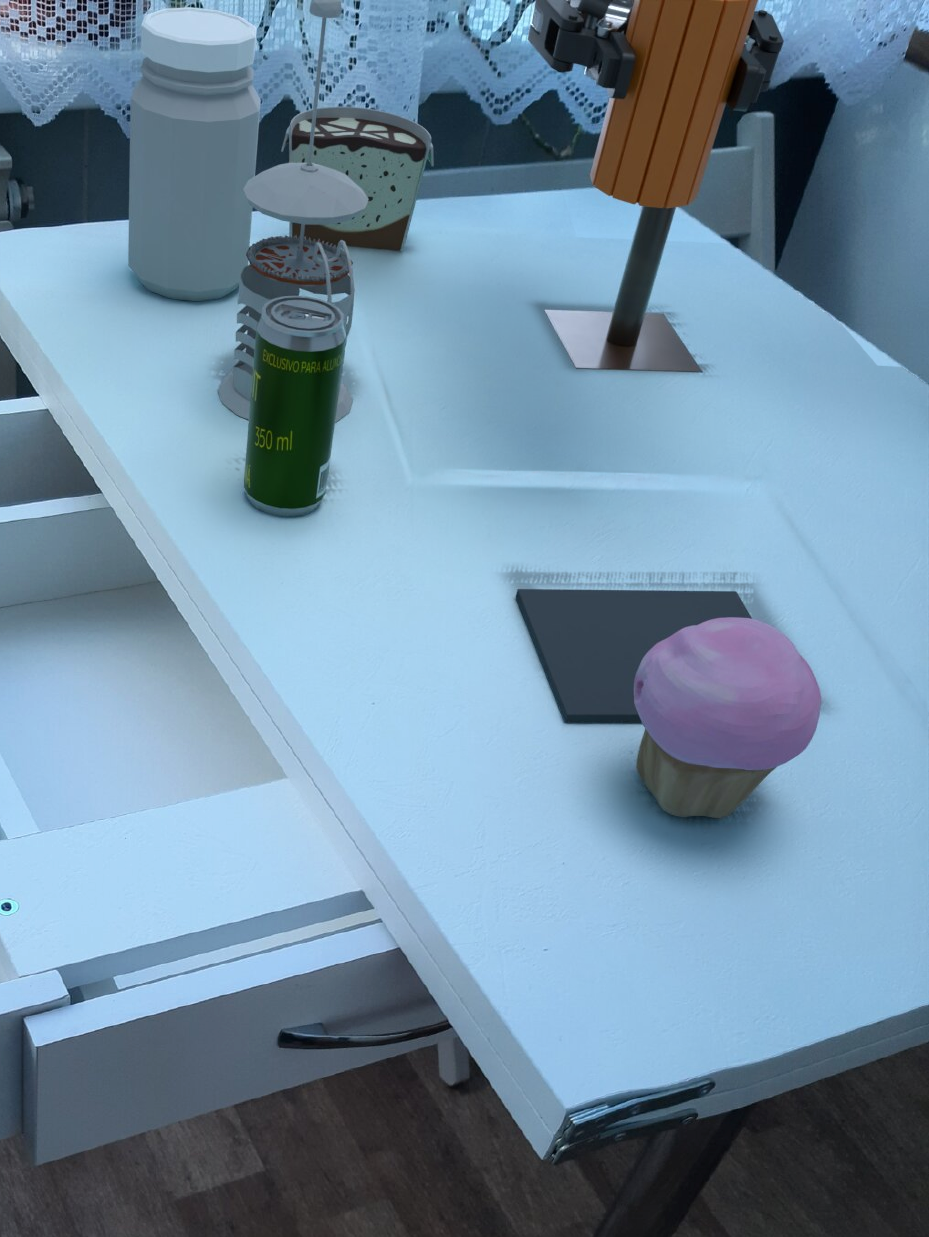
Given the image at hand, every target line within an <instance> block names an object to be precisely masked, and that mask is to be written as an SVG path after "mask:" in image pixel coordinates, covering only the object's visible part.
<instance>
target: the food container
mask: <svg viewBox="0 0 929 1237" xmlns="http://www.w3.org/2000/svg"><path fill="white" fill-rule="evenodd" d="M312 115H313V108H312V109H308V110H304V111H302V112H300V113H298V114H296V115H295V116H294V117H293V118H291V120H290V124H289V126H288V127H287V129H286V132H285V134H284V139H283V142H282V146H281V150H280V152H282V153H283V152H284V149H285V147H287V145H288V163H308V154H309V145H310V135H311V125H312ZM434 159H435V158H434V145H433V143H432V136H431V134H430V133H429V131H428V130H427V129H426V128H425V127H424V126H423V125H421V124H419V123H417V122H415V121H413V120H411V119H409V118H407V117H404V116H401V115H398V114H394V113H391V112H388V111H383V110H379V109H372V108H364V107H356V106H355V107H354V106H326V107H317V114H316V124H315V133H314V143H313V153H312V162H311V163H315V164H318V165H322V166H325V167H328V168H331V169H334V170H337V171H339V172H341V173H344V174H346V175H347V176H348V177H349V178H350V179H351V180H352V181H353V182H355V183H356V184H357V185H358V186H359V187H360V188H361V189H362V190H363V191H364V193H365V194H366V196H367V197H368V199H369V200H368V202H367V205H366V208H365V209H364V210H363V211H362V212H361V213H360V214H358V215H357V216H355V217H353V218H352V219H350V220H348V221H346V222H340V223H335V224H329V225H310V224H305V230H304V237H305V236H306V239H309V237H310V238H311V239H312V240H314V239H315V240H319V239H320V240H319V241H321V242H322V241H324V243H327V242H328V244H332V243H333V244H332V245H333V246H334V245H336V247H337V246H338V243H339V242H340V240H343V241H345V243H346V246H347V247H353V248H361V249H363V248H364V249H373V250H384V251H397V252H400V253H401V252H402V253H403V252H404V249H405V246H406V241H407V237H408V234H409V231H410V227H411V222H412V219H413V215H414V211H415V208H416V204H417V200H418V195H419V192H420V188H421V184H422V181H423V176H424V173H425V169H426V165H427V161H428V162H429V164H430V166H431V167H434V166H435V163H434ZM288 223H289V224H288V225H289V226H288V227H289V228H288V230H289V231H288V232H289V236H290V235H292V237H294V236H296V235H297V237H299V236H300V233H301V224H299V223H293V222H288ZM289 236H288V237H289ZM341 247H342V245H341Z"/></svg>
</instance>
